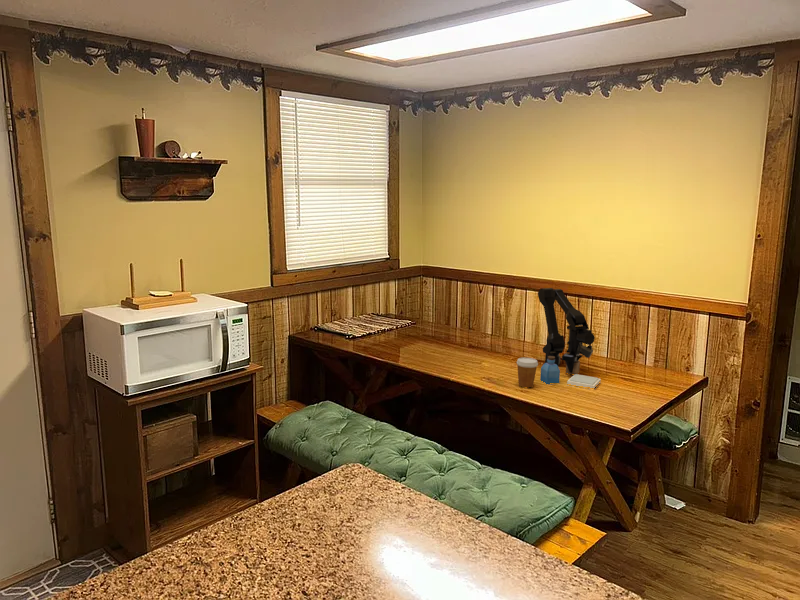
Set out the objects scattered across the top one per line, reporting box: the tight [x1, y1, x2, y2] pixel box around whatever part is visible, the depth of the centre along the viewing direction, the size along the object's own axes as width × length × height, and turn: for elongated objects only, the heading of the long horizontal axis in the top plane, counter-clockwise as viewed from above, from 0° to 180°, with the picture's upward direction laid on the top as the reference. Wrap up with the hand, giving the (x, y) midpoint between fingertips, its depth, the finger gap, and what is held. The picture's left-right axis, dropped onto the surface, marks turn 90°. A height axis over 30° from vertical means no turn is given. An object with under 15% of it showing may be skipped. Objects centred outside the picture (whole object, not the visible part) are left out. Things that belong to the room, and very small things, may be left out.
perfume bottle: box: [539, 356, 561, 385], centre depth 283 cm, size 6×6×12 cm
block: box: [565, 361, 581, 375], centre depth 297 cm, size 5×5×6 cm
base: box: [566, 374, 602, 389], centre depth 282 cm, size 12×12×2 cm
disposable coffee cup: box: [516, 357, 539, 388], centre depth 276 cm, size 10×10×12 cm
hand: (572, 371), depth 297 cm, fingers closed on block, 5 cm apart
